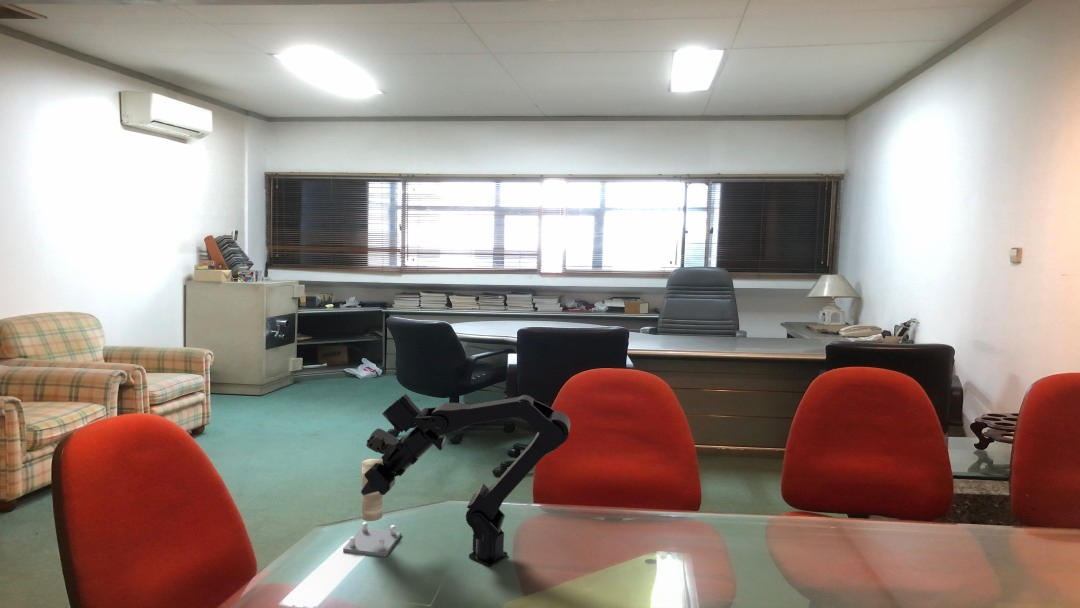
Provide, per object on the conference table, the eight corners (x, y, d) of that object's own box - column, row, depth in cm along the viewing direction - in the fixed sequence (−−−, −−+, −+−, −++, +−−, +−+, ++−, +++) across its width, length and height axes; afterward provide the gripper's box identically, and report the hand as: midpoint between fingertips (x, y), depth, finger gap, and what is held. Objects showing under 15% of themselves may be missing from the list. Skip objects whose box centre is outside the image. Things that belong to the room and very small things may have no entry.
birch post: (385, 518, 145) (385, 464, 143) (365, 523, 142) (365, 467, 140) (378, 510, 148) (378, 457, 147) (359, 514, 146) (358, 461, 144)
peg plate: (401, 535, 151) (401, 524, 150) (385, 556, 141) (385, 545, 141) (361, 530, 152) (361, 519, 152) (343, 551, 142) (343, 540, 142)
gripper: (402, 407, 151) (358, 448, 154) (373, 433, 133) (324, 479, 135) (434, 441, 151) (389, 482, 154) (409, 472, 133) (359, 517, 135)
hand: (366, 488), depth 145 cm, fingers closed on birch post, 5 cm apart
